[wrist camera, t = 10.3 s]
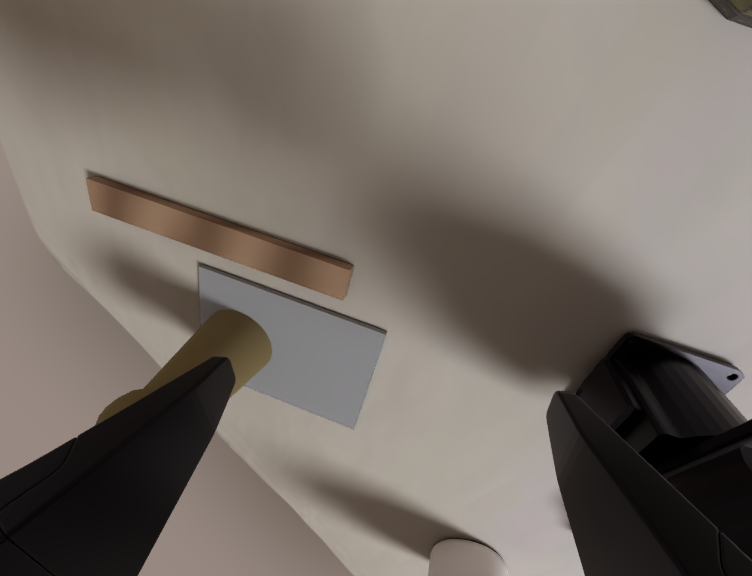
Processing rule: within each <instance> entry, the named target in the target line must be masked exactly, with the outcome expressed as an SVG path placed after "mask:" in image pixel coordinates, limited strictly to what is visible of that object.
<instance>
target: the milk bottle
mask: <svg viewBox="0 0 752 576" xmlns="http://www.w3.org/2000/svg"><path fill="white" fill-rule="evenodd" d="M428 576H508V570H507V567H506V565H505V563H504V561H503V560H502V558H501V557H500V556H499V555H498V554H497V553H496V552H494V551H493V550H491V549H490V548H488V547H486V546H484V545H481V544H479V543H476V542H472V541H468V540H463V539H448V540H443V541H441V542H438V543H437V544H436V545H435V546H434V547H433V549H432V551H431V555H430V563H429V572H428Z"/></svg>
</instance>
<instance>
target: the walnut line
mask: <svg viewBox="0 0 752 576" xmlns="http://www.w3.org/2000/svg"><path fill="white" fill-rule="evenodd" d="M86 182H87V187H88V192H89V197H90V202H91V207H92V210H93V211H96V212H98V213H101V214H104V215H107V216H109V217H112V218H115V219H118V220H121V221H123V222H126V223H129V224H132V225H134V226H137V227H140V228H143V229H146V230H148V231H151V232H154V233H157V234H159V235H162V236H165V237H168V238H171V239H173V240H176V241H179V242H182V243H184V244H187V245H190V246H193V247H196V248H198V249H201V250H204V251H207V252H209V253H212V254H215V255H218V256H221V257H223V258H226V259H229V260H232V261H234V262H237V263H240V264H243V265H246V266H248V267H251V268H254V269H257V270H259V271H262V272H265V273H268V274H270V275H273V276H276V277H279V278H282V279H284V280H287V281H290V282H293V283H295V284H298V285H301V286H304V287H307V288H309V289H312V290H315V291H318V292H320V293H323V294H326V295H329V296H332V297H334V298H337V299H340V300H344V298H345V297H346V295H347V292H348V288H349V283H350V279H351V275H352V271H353V267H354V266H353V265H350V264H347V263H345V262H342V261H339V260H336V259H333V258H330V257H327V256H324V255H322V254H319V253H316V252H313V251H310V250H307V249H304V248H301V247H299V246H296V245H293V244H290V243H287V242H284V241H281V240H278V239H276V238H273V237H270V236H267V235H264V234H261V233H258V232H255V231H253V230H250V229H247V228H244V227H241V226H238V225H235V224H233V223H230V222H227V221H224V220H221V219H218V218H215V217H212V216H210V215H207V214H204V213H201V212H198V211H195V210H192V209H189V208H187V207H184V206H181V205H178V204H175V203H172V202H169V201H166V200H164V199H161V198H158V197H155V196H152V195H149V194H146V193H143V192H141V191H138V190H135V189H132V188H129V187H126V186H123V185H120V184H118V183H115V182H112V181H109V180H106V179H103V178H100V177H98V176H95V177H89V178H86Z"/></svg>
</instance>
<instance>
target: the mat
mask: <svg viewBox="0 0 752 576" xmlns="http://www.w3.org/2000/svg"><path fill="white" fill-rule="evenodd" d="M198 267H199V297H200V327H201V326H202V325H203V324H204V323H205V322H206V321H207V320H208V319H209V317H210V316H211V315H213V314H214V313H216V312H217V311H221V310H233V311H238V312H241V313H243V314H245V315H247V316H249V317H250V318H252V319H253V320H254V321H256V322H257V323H258V324H259V325H260V326H261V327H262V328H263V330H264V331H265V332H266V333H267V336H268V338H269V340H270V342H271V347H272V355H271V359H270V361H269V362H268V363H267V364H266V366H265V367H263V368H262V369H261V370H260V371H259V372H258V373H257V374H256V375H255V376H253V377H252V378H251V379H250V380H249V381H248V382H247V383H246V384H245V385H243V386H245V387H248V388H250V389H253V390H255V391H258V392H260V393H263V394H265V395H268V396H270V397H273V398H275V399H278V400H280V401H283V402H286V403H288V404H291V405H293V406H296V407H298V408H301V409H303V410H306V411H308V412H311V413H313V414H316V415H318V416H321V417H323V418H326V419H328V420H331V421H333V422H336V423H338V424H341V425H343V426H346V427H348V428H351V429H353V430H354V428H355V425H356V422H357V419H358V416H359V413H360V410H361V407H362V404H363V401H364V398H365V395H366V392H367V389H368V386H369V383H370V380H371V377H372V374H373V372H374V369H375V366H376V363H377V360H378V357H379V354H380V351H381V348H382V345H383V342H384V339H385V336H386V333H387V331H384V330H381V329H378V328H376V327H373V326H370V325H367V324H365V323H362V322H359V321H356V320H354V319H351V318H348V317H345V316H343V315H340V314H337V313H334V312H332V311H329V310H326V309H324V308H321V307H318V306H315V305H313V304H310V303H307V302H304V301H302V300H299V299H296V298H293V297H291V296H288V295H285V294H282V293H280V292H277V291H274V290H271V289H269V288H266V287H263V286H260V285H258V284H255V283H252V282H249V281H247V280H244V279H241V278H239V277H236V276H233V275H230V274H228V273H225V272H222V271H219V270H217V269H214V268H211V267H208V266H206V265H203V264H202V265H200V266H198Z"/></svg>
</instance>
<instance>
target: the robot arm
mask: <svg viewBox="0 0 752 576" xmlns="http://www.w3.org/2000/svg"><path fill="white" fill-rule="evenodd" d="M631 340H635V341H634V342H632V343H629V342H630V341H631ZM730 374H732V375H730ZM728 375H730V376H728ZM743 378H744V374H743V373H742V372H741V371H740V370H739V369H738V368H737V367H735V366H732V365H729V364H726V363H724V362H721V361H718V360H715V359H712V358H709V357H706V356H703V355H700V354H697V353H694V352H691V351H688V350H685V349H682V348H679V347H676V346H673V345H670V344H668V343H665V342H662V341H659V340H656V339H653V338H650V337H647V336H644V335H641V334H638V333H634V332H630V333H627V334H625V335H623V336H622V337H621V339H620V340H619V341H618V342H617V344H616V345H615V346H614V347H613V348H612V350H611V351H610V352H609V353H608V355H607V356H606V357H605V358H604V359H602V360H601V361H600V362H599V364H598V365H597V366H596V367H595V369H594V370H593V371H592V372H591V374H590V375H589V376H588V377H587V379H586V380H585V381H584V382H583V383H582V385H581V388H580V389H579V390H578V392H577V393H576V394H574V393H572V392H564V391H556V392H555V393H554V395H553V397H552V400H551V403H550V405H549V408H548V410H547V416H546V418H547V425H548V431H549V437H550V442H551V448H552V454H553V459H554V465H555V471H556V476H557V480H558V484H559V488H560V492H561V495H562V499H563V502H564V505H565V509H566V512H567V516H568V519H569V523H570V526H571V529H572V533H573V536H574V540H575V543H576V546H577V550H578V553H579V557H580V560H581V564H582V567H583V570H584V574H585V576H752V419H751V420H749V421H748V420H747V419H746V418H745V417H744V416H743V415H742V414H741V413H740V411H739V410H738V409H737V408H736V407H735V406H734V405H733V404H732V403H731V401H730V400H729V399H728V398H727V397H726V396H725V394H727V393H728V392H729V391H730V390H731V389H732V388H734V387H735V386H736V385H737V384H738V383H739V382H740V381H742V379H743ZM235 382H236V377H235V373H234V370H233V367H232V364H231V361H230V359H229V358H228V357H224V356H213V357H211V358H209V359H208V360H206V361H204V362H203V363H201V364H199V365H197V366H196V367H194V368H192V369H191V370H189V371H187V372H186V373H184V374H182V375H180V376H179V377H177V378H175V379H174V380H172V381H170V382H168V383H167V384H165V385H163V386H162V387H160V388H158V389H157V390H155V391H153V392H151V393H150V394H148V395H146V396H145V397H143V398H141V399H140V400H138V401H136V402H134V403H133V404H131V405H129V406H128V407H126V408H124V409H122V410H121V411H119V412H117V413H116V414H114V415H112V416H111V417H109V418H107V419H105V420H104V421H102V422H100V423H99V424H97V425H95V426H93V427H92V428H90V429H89V430H87V431H85V432H83V433H82V434H80V435H78V437H77V438H73V439H71V440H70V441H68V442H66V443H64V444H63V445H61V446H59V447H58V448H56V449H54V450H52V451H51V452H49V453H47V454H45V455H44V456H42V457H40V458H38V459H37V460H35V461H33V462H31V463H30V464H28V465H26V466H24V467H22V468H20V469H18V470H17V471H15V472H13V473H11V474H9V475H7V476H5V477H4V478H2V479H0V576H138V574H139V572H140V570H141V569H142V567H143V565H144V563H145V561H146V559H147V557H148V556H149V554H150V552H151V550H152V548H153V546H154V544H155V543H156V541H157V539H158V537H159V535H160V533H161V531H162V529H163V528H164V526H165V524H166V522H167V520H168V518H169V517H170V515H171V513H172V511H173V509H174V507H175V505H176V504H177V502H178V500H179V498H180V496H181V494H182V493H183V491H184V489H185V487H186V485H187V483H188V481H189V480H190V478H191V476H192V474H193V472H194V470H195V469H196V466H197V465H198V463H199V461H200V459H201V457H202V456H203V453H204V452H205V450H206V448H207V446H208V444H209V443H210V441H211V438H212V437H213V435H214V433H215V431H216V428H217V426H218V424H219V421H220V419H221V417H222V414H223V412H224V409H225V407H226V405H227V402H228V400H229V397H230V395H231V393H232V390H233V388H234V385H235Z"/></svg>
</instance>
